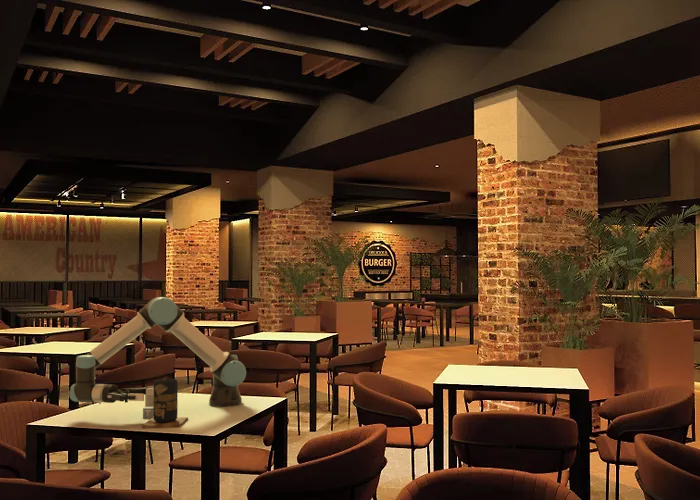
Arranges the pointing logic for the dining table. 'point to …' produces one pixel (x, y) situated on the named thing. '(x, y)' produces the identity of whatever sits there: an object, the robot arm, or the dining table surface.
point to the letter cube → (148, 412)
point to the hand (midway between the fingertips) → (152, 394)
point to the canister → (165, 400)
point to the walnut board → (165, 423)
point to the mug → (149, 399)
